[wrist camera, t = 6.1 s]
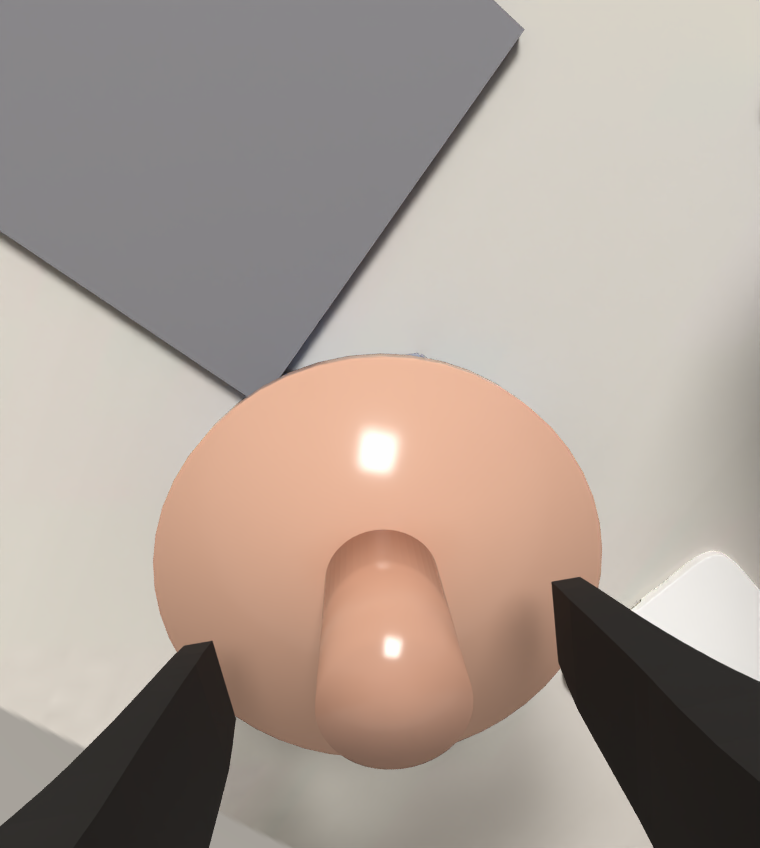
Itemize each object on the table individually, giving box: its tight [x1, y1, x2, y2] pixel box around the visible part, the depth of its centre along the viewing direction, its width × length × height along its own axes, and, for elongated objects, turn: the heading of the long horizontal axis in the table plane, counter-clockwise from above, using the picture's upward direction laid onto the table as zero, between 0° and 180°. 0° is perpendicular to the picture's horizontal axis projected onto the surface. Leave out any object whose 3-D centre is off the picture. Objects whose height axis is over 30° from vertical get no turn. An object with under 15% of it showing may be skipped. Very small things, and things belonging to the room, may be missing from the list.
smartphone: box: [631, 551, 760, 681], centre depth 21 cm, size 7×1×15 cm
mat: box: [0, 0, 524, 396], centre depth 14 cm, size 12×12×1 cm
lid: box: [153, 354, 602, 769], centre depth 12 cm, size 11×11×5 cm
